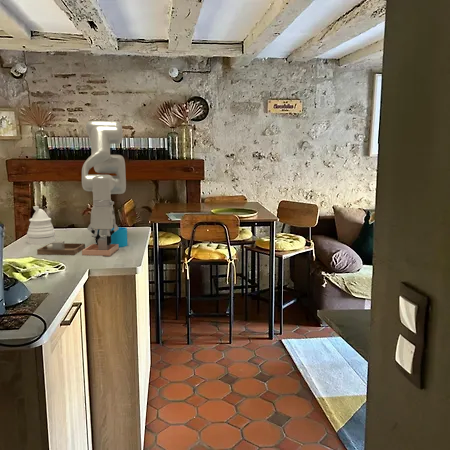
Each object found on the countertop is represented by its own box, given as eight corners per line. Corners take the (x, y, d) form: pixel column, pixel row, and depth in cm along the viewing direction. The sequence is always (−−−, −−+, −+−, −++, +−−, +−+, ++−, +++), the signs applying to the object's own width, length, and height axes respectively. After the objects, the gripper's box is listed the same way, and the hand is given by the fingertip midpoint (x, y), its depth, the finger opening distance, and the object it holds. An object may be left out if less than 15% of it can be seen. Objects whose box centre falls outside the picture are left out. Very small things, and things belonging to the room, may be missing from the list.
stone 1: (55, 252, 200) (54, 240, 199) (64, 251, 200) (64, 240, 199) (52, 254, 196) (52, 242, 195) (62, 253, 196) (61, 242, 195)
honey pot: (38, 246, 213) (36, 208, 210) (21, 243, 220) (19, 206, 217) (61, 241, 224) (59, 205, 221) (44, 239, 231) (42, 204, 228)
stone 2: (101, 246, 206) (100, 236, 204) (109, 247, 206) (108, 236, 204) (98, 250, 202) (97, 240, 200) (107, 250, 202) (106, 240, 200)
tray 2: (92, 249, 208) (92, 243, 208) (118, 249, 208) (118, 244, 207) (82, 256, 194) (81, 250, 194) (109, 256, 194) (109, 250, 193)
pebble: (48, 250, 203) (48, 243, 203) (55, 250, 203) (55, 243, 203) (45, 251, 200) (45, 244, 200) (53, 251, 200) (52, 244, 199)
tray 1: (50, 248, 209) (50, 243, 208) (85, 248, 208) (84, 243, 208) (37, 255, 195) (37, 249, 194) (74, 255, 194) (73, 250, 194)
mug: (126, 247, 213) (125, 230, 211) (108, 247, 212) (108, 230, 211) (129, 242, 225) (129, 225, 223) (113, 242, 224) (112, 225, 223)
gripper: (123, 203, 203) (124, 243, 206) (86, 202, 204) (88, 242, 207) (118, 205, 196) (119, 246, 199) (80, 204, 197) (82, 246, 199)
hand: (103, 244), depth 203 cm, fingers closed on stone 2, 4 cm apart
